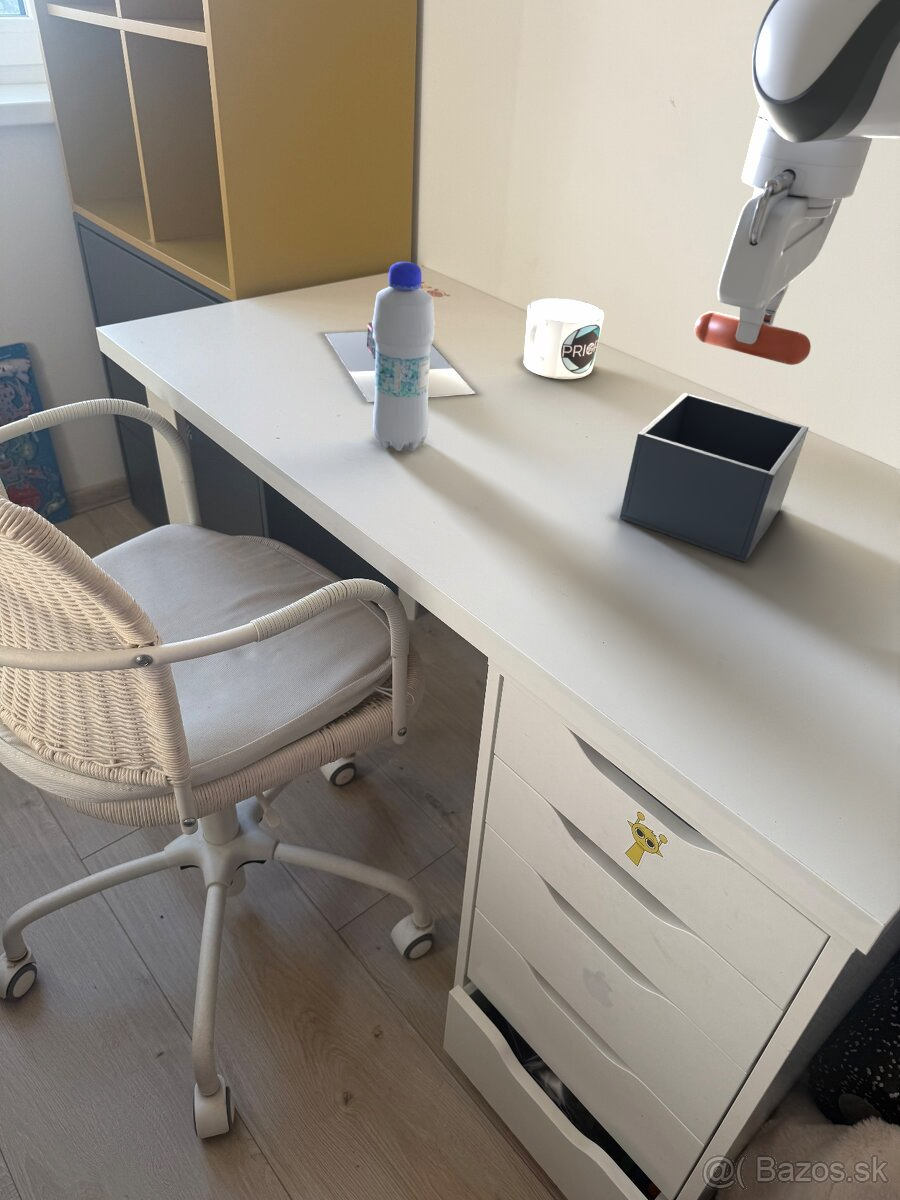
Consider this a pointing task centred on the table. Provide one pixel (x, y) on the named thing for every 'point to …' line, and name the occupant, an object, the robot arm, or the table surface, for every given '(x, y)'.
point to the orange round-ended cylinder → (769, 345)
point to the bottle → (402, 358)
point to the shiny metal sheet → (360, 363)
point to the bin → (711, 474)
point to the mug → (562, 337)
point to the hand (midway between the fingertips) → (753, 334)
